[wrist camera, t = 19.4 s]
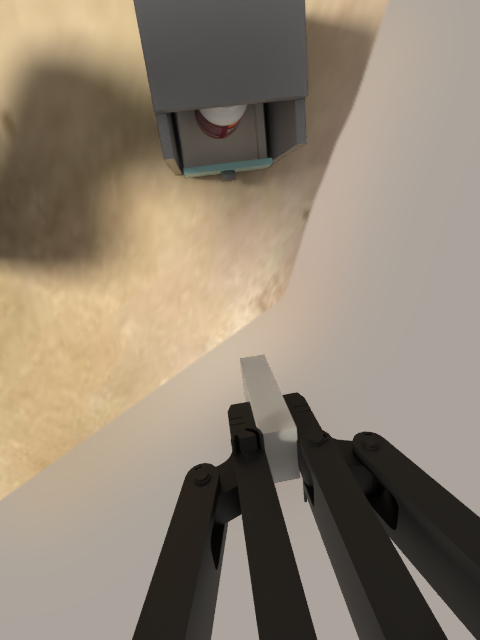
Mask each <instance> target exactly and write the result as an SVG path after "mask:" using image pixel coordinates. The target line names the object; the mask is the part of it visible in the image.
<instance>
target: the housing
mask: <svg viewBox="0 0 480 640" xmlns="http://www.w3.org/2000/svg"><path fill="white" fill-rule="evenodd" d="M133 1H134V6H135V12H136V17H137V22H138V28H139V33H140V38H141V44H142V49H143V54H144V60H145V65H146V70H147V76H148V81H149V86H150V92H151V97H152V102H153V108H154V112H155V114H156V119H157V124H158V130H159V135H160V140H161V146H162V151H163V157H164V160H165V162H166V163H167V164H168V166H169V167H170V169H171V170H172V171H173V173H174V174H175V175H180V174H184V170H183V168H184V166H183V160H182V154H181V148H180V142H179V136H178V130H177V124H176V118H175V112H179V111H188V110H198V109H208V108H217V107H227V106H237V105H246V104H256V103H263V113H264V126H265V139H266V152H267V158H272V161H273V163H275V162H277V161H278V160H280V159H282V158H283V157H285V156H286V155H288V154H290V153H291V152H293V151H295V150H296V149H298V148H299V147H301V146H303V145H304V144H306V122H305V98H306V97H307V95H308V81H307V51H306V20H305V0H133Z"/></svg>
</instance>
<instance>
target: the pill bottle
mask: <svg viewBox="0 0 480 640" xmlns="http://www.w3.org/2000/svg"><path fill="white" fill-rule="evenodd" d="M246 107H247V104H246V105H237V106H227V107H217V108H208V109H198V110H195V117H196V121H197V124H198V126H199V127H200V129H201V130H202V131H203V132H204V133H205V134H206V135H207V136H209V137H211V138H214V139H224V138H227V137H229V136H230V135H231V134H233V132H234V131H235V130H236V128H237V127H238V125H239V122H240V120H241V118H242V116H243V114H244V112H245V110H246Z"/></svg>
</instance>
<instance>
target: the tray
mask: <svg viewBox="0 0 480 640" xmlns="http://www.w3.org/2000/svg"><path fill="white" fill-rule="evenodd" d="M175 118H176V124H177V130H178V136H179V142H180V148H181V154H182V160H183V166H184V168H183V170H184V175H185V178H189V177H198V176H206V175H214V174H221V179H222V182H224V181H232V180H236V177H235V172H239V171H248V170H256V169H264V168H267V167H269V166H271V165H272V164H273V161H272V158H267V152H266V139H265V126H264V113H263V103H256V104H247V107H246V110H245V112H244V114H243V116H242V118H241V120H240V122H239V125H238V127H237V128H236V130H235V131H234V132H233V134H231V135H230V136H229V137H227V138H224V139H214V138H211V137H209V136H207V135H206V134H205V133H204V132H203V131H202V130H201V129H200V127H199V126H198V124H197V121H196V117H195V110H188V111H179V112H175Z"/></svg>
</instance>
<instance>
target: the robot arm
mask: <svg viewBox="0 0 480 640" xmlns="http://www.w3.org/2000/svg"><path fill="white" fill-rule="evenodd" d="M240 363H241V372H242V379H243V386H244V394H245V399H246V402H245V403H239V404H234V405H231V406H230V408H229V410H228V418H229V425H230V433H231V444H232V454H231V456H230V457H229V459H228V460H227V461H226V462H224V463H223V464H221V465H219V466H217V467H215V466H213V465H212V464H207V463H203V464H199V465H196V466H194V467H193V468H192V469H191V470H190V471H189V472H188V473H187V475H186V477H185V480H184V483H183V486H182V489H181V492H180V495H179V498H178V501H177V504H176V507H175V510H174V513H173V516H172V519H171V523H170V526H169V528H168V531H167V535H166V538H165V541H164V544H163V547H162V550H161V553H160V556H159V559H158V562H157V565H156V568H155V571H154V574H153V577H152V581H151V583H150V586H149V590H148V593H147V596H146V599H145V602H144V605H143V608H142V611H141V614H140V617H139V620H138V623H137V626H136V629H135V632H134V635H133V638H132V640H211V635H212V628H213V621H214V614H215V607H216V601H217V594H218V587H219V581H220V574H221V566H222V560H223V554H224V547H225V540H226V533H227V527H228V522H229V521H230V520H232V519H234V518H236V517H237V516H239V515H241V514H242V520H243V527H244V534H245V542H246V549H247V556H248V563H249V570H250V577H251V584H252V591H253V599H254V605H255V613H256V620H257V626H258V634H259V640H317V637H316V633H315V630H314V626H313V623H312V619H311V616H310V612H309V608H308V605H307V601H306V597H305V594H304V590H303V586H302V583H301V580H300V576H299V572H298V568H297V565H296V561H295V557H294V554H293V550H292V547H291V543H290V539H289V535H288V532H287V528H286V525H285V521H284V517H283V514H282V510H281V507H280V503H279V499H278V496H277V492H276V488H275V485H274V483H277V482H282V481H287V480H292V479H297V478H300V474H299V473H300V472H301V475H302V477H303V490H304V501H305V502H307V499H308V502H309V504H310V507H311V510H312V512H313V515H314V518H315V521H316V523H317V526H318V529H319V531H320V534H321V537H322V540H323V542H324V545H325V547H326V550H327V553H328V556H329V558H330V561H331V564H332V566H333V569H334V572H335V574H336V577H337V580H338V583H339V586H340V588H341V591H342V594H343V596H344V599H345V601H346V604H347V607H348V610H349V613H350V615H351V618H352V621H353V623H354V626H355V629H356V632H357V634H358V637H359V640H448V639H447V637H446V636H445V634H444V632H443V630H442V628H441V627H440V625H439V623H438V622H437V620H436V618H435V616H434V615H433V613H432V611H431V609H430V608H429V606H428V604H427V603H426V601H425V599H424V597H423V595H422V594H421V592H420V590H419V588H418V587H417V585H416V583H415V581H414V580H413V578H412V576H411V575H410V573H409V571H408V570H407V568H406V566H405V564H404V563H403V561H402V559H401V557H400V555H399V554H398V552H397V550H396V548H395V547H394V545H393V543H392V541H393V542H394V543H395V544H396V545H397V546H398V548H399V549H400V550H401V551H402V552H403V554H404V555H405V556H406V557H407V558H408V559H409V561H410V562H411V563H412V564H413V565H414V566H415V567H416V569H417V570H418V571H419V572H420V574H421V575H422V576H423V577H424V578H425V579H426V580H427V582H428V583H429V584H430V585H431V587H432V588H433V589H434V590H435V591H436V592H437V594H438V595H439V596H440V597H441V598H442V599H443V600H444V602H445V603H446V604H447V605H448V607H449V608H450V609H451V610H452V611H453V612H454V614H455V615H456V616H457V617H458V618H459V620H460V621H461V622H462V623H463V624H464V625H465V627H466V628H467V629H468V630H469V631H470V632H471V634H472V635H473V636H474V637H475V638H476V639H477V640H480V517H479V516H477V515H476V514H475V513H474V512H472V511H471V510H470V509H469V508H468V507H466V506H465V505H464V504H463V503H462V502H460V501H459V500H458V499H457V498H456V497H454V496H453V495H452V494H451V493H450V492H448V491H447V490H446V489H445V488H443V487H442V486H441V485H440V484H439V483H437V482H436V481H435V480H434V479H433V478H431V477H430V476H429V475H428V474H426V473H425V472H424V471H423V470H422V469H421V468H419V467H418V466H417V465H416V464H414V463H413V462H412V461H411V460H410V459H409V458H407V457H406V456H405V455H404V454H402V453H401V452H400V451H399V450H398V449H396V448H395V447H394V446H393V445H392V444H390V443H389V442H388V441H387V440H386V439H384V438H383V437H382V436H380V435H378V434H376V433H372V432H361V433H358V434H356V435H355V436H354V438H353V441H347V440H337V439H334V438H332V437H331V436H330V435H329V434H328V433H327V432H325V431H323V430H322V429H321V427H320V425H319V423H318V421H317V420H316V418H315V416H314V414H313V412H312V411H311V409H310V407H309V405H308V403H307V402H306V400H305V398H304V397H303V396H301V395H300V394H299V393H291V394H286V395H282V394H281V391H280V389H279V387H278V385H277V382H276V380H275V378H274V376H273V373H272V371H271V369H270V367H269V364H268V362H267V360H266V358H265V355H258V356H253V357H246V358H240ZM299 470H300V471H299ZM389 537H390V538H391V539H392V541H391V540H390V538H389Z"/></svg>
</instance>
